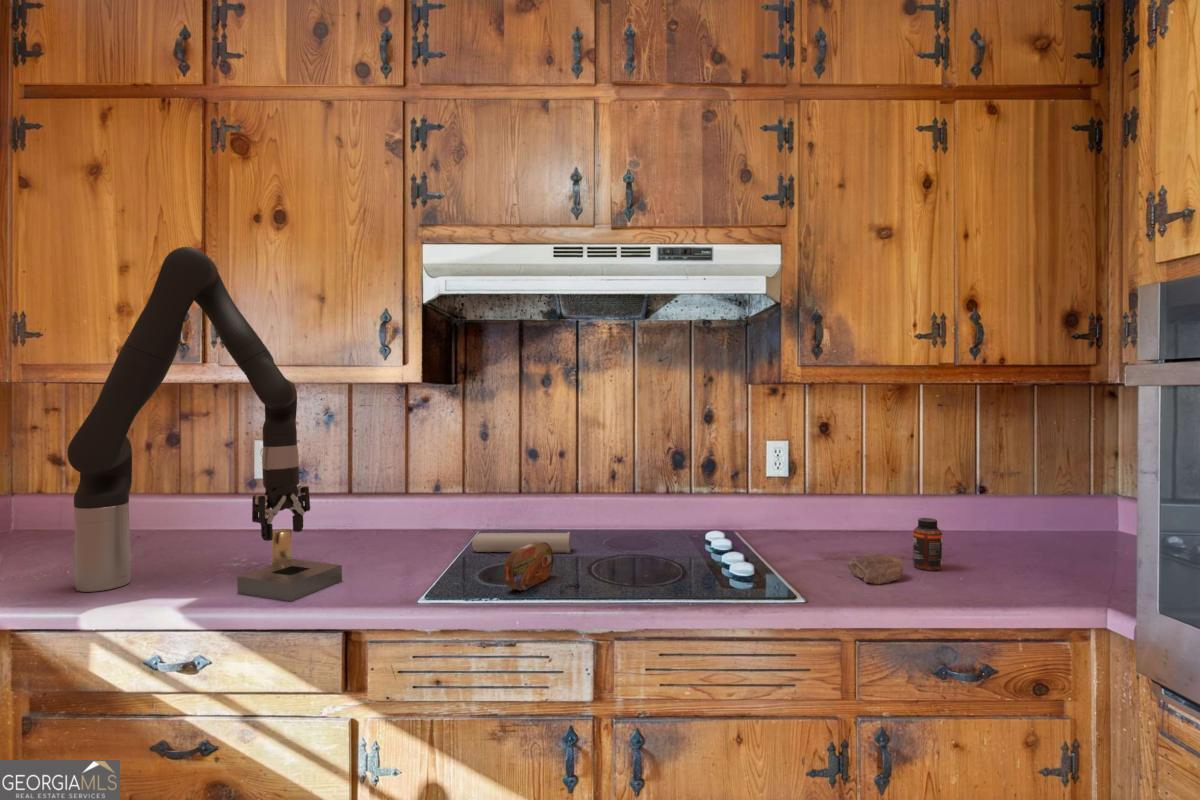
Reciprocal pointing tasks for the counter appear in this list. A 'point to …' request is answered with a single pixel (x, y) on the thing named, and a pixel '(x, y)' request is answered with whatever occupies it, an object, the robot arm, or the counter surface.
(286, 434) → the robot arm
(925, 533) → the supplement bottle
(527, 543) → the tube
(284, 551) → the pipe stub
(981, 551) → the counter surface
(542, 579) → the tin
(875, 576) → the rock
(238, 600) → the counter surface
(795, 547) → the counter surface
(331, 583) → the block
